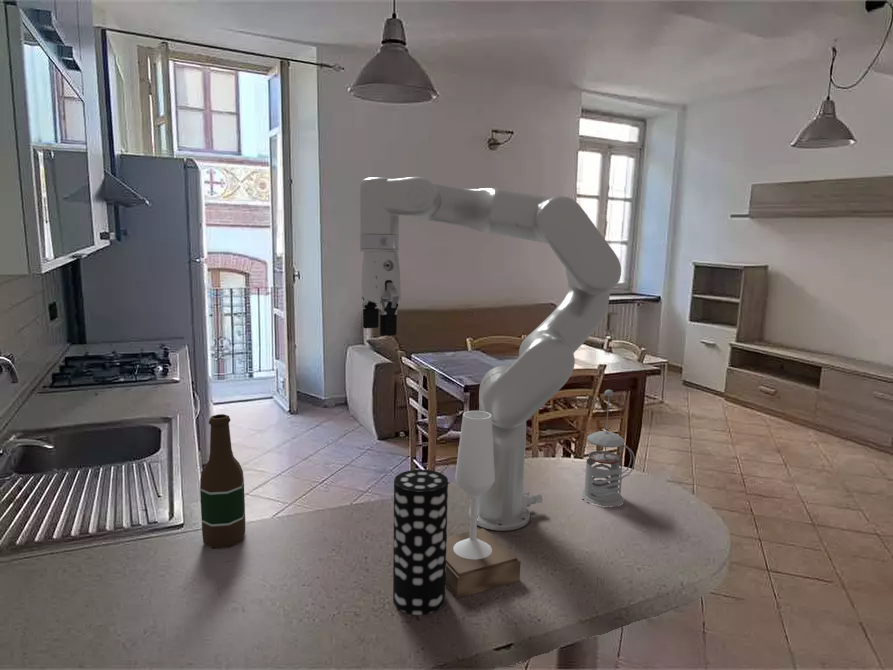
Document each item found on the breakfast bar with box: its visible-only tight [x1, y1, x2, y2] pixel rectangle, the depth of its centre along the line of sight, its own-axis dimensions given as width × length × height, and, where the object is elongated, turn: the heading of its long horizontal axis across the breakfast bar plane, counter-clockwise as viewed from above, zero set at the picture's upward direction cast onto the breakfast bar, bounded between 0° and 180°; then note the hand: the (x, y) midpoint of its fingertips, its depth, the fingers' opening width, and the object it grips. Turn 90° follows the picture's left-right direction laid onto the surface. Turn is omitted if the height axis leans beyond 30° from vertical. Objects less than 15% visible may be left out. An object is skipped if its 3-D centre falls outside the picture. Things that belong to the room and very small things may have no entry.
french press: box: [581, 389, 636, 507], centre depth 130 cm, size 10×12×25 cm
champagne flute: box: [453, 410, 495, 559], centre depth 99 cm, size 7×7×24 cm
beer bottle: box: [199, 413, 246, 550], centre depth 108 cm, size 8×8×24 cm
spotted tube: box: [392, 469, 449, 616], centre depth 92 cm, size 8×8×20 cm
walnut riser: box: [446, 527, 522, 599], centre depth 101 cm, size 12×12×4 cm
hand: (379, 331), depth 116 cm, fingers open, 9 cm apart
